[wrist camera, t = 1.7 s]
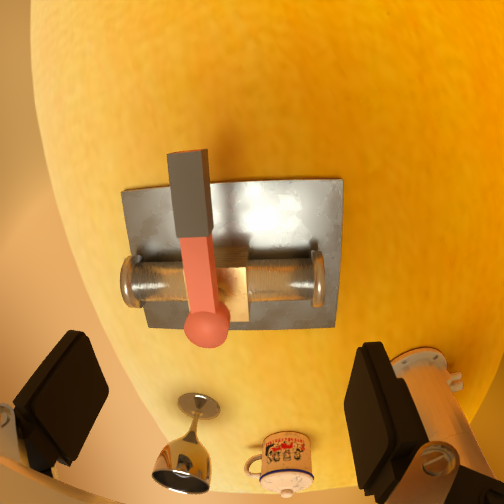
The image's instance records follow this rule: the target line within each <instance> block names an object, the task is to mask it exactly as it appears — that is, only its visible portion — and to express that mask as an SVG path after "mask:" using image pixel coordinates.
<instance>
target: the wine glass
mask: <svg viewBox="0 0 504 504" xmlns="http://www.w3.org/2000/svg"><path fill="white" fill-rule="evenodd" d="M178 407H179V408H180V410H181V411H182V412H183V413H185V414H186V415H188V416H190V417H192V418H193V421H192V424H191V426H190V429H189V431H188V432H187V433H186V434H185V435H184V436H182V437H180V438H178V439H175V440H173V441H171V442H169V443H168V444H167V445H166V446H165V447H164V448H163V450H162V451H161V453H160V455H159V457H158V458H157V461H156V463H155V466H154V469H153V473H152V478H153V479H154V480H155V481H156V482H157V483H159V484H160V485H162V486H163V487H165V488H168V489H171V490H173V491H176V492H181V493H186V494H203V493H206V492H207V491H208V490H209V488H210V482H211V474H212V469H211V459H210V455H209V453H208V451H207V450H206V448H205V447H204V446H203V445H202V443H201V442H200V441H199V439H198V437H197V422H198V419H200V420H209V419H213V418H215V417H217V416H218V415H219V413H220V407H219V405H218V403H217V402H216V401H215V400H213V399H212V398H210V397H208V396H206V395H203V394H198V393H188V394H184V395H182V396H181V397H180V398H179V399H178Z"/></svg>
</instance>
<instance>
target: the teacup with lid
mask: <svg viewBox="0 0 504 504" xmlns="http://www.w3.org/2000/svg"><path fill="white" fill-rule="evenodd" d="M259 459H262V468H261V473H251V472H249V467H250V465H251V464H252V463H253V462H254V461H256V460H259ZM244 471H245V473H246V475H248V476H249V477H251V478H260V479H259V481H260V484H261V486H262V487H263V488H264V489H266V490H269V491H272V492H277V493H281V496H282V497H286V498H287V497H291V496H292V495H293V493H294V492H297V491H301V490H304V489H306V488H308V487H309V486H310V485H311V484H312V483H313V480H314V476H313V475H312V464H311V450H310V441H309V439H308V438H307V437H306V436H305V435H303V434H300V433H296V432H280V433H276V434H273V435H270V436H269V437H267V438H266V439H265V440H264V442H263V449H262V454H259V455H255V456H252V457H251V458H249V459H248V461H247V462H246V464H245V467H244Z"/></svg>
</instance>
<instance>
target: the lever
mask: <svg viewBox="0 0 504 504" xmlns="http://www.w3.org/2000/svg"><path fill="white" fill-rule="evenodd" d="M167 162H168V172H169V182H170V191H171V200H172V208H173V216H174V224H175V231H176V238H179V240H180V247H181V254H182V261H183V267H184V274H185V280H186V286H187V292H188V298H189V304H190V312H189V314H188V317H187V319H186V322H185V324H184V331H185V334H186V336H187V338H188V339H189V340H190V341H191V342H192V343H194V344H195V345H197V346H199V347H203V348H215V347H218V346H220V345H221V344H223V343H224V342H225V340H226V338H227V334H228V329H229V324H230V320H231V314H230V311H229V309H228V307H227V306H226V305H225V304H224V303H223V302H221V301H219V294H218V285H217V276H216V267H215V258H214V249H213V239H212V230H213V229H214V222H213V211H212V200H211V188H210V176H209V163H208V150H207V149H201V150H190V151H181V152H174V153H170V154H167Z"/></svg>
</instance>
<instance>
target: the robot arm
mask: <svg viewBox="0 0 504 504" xmlns="http://www.w3.org/2000/svg"><path fill="white" fill-rule="evenodd" d="M461 378H462V373H461V371H459V372H454V373H452V374H450V373H449V372H448V371H447V362H446V359H445V357H444V356H443V354H442V353H441V352H440V351H438V350H436V349H433V348H419V349H415V350H412V351H409V352H407V353H404V354H402V355H401V356H399V357H397V358H396V359H394V360H393V361H392V362H390V360H389V358H388V356H387V353H386V351H385V349H384V346H383V344H382V343H381V342H365V343H364V344H363V346H362V347H358V348H357V352H356V356H355V360H354V365H353V369H352V373H351V377H350V381H349V385H348V389H347V392H346V396H345V400H344V411H345V416H346V421H347V426H348V431H349V436H350V442H351V447H352V453H353V458H354V464H355V470H356V476H357V482H358V487H359V489H364V492H365V496H370V495H374V496H375V502H376V503H378V504H504V483H503V482H501V481H499V480H497V478H496V477H495V475H494V474H493V472H492V470H491V468H490V467H489V465H488V463H487V461H486V459H485V457H484V455H483V453H482V451H481V449H480V447H479V445H478V443H477V441H476V438H475V436H474V434H473V432H472V430H471V428H470V426H469V424H468V422H467V420H466V417H465V415H464V413H463V411H462V409H461V408H460V406H459V404H458V402H457V400H456V398H455V396H454V394H453V392H456V391H460V390H462V389H463V381H462V380H461ZM451 381H452V382H451ZM108 394H109V388H108V385H107V383H106V381H105V378H104V376H103V373H102V371H101V368H100V366H99V363H98V361H97V358H96V356H95V353H94V350H93V348H92V345H91V342H90V340H89V338H88V337H87V336H86V335H85V333H84V332H81V331H74V330H69V331H68V332H67V333H66V334H65V335H64V336H63V337H62V339H61V340H60V341H59V342H58V344H57V345H56V346H55V347H54V348H53V350H52V351H51V352H50V353H49V355H48V356H47V357H46V359H45V360H44V361H43V362H42V364H41V365H40V366H39V367H38V369H37V370H36V371H35V372H34V374H33V375H32V376H31V378H30V379H29V380H28V382H27V383H26V384H25V386H24V387H23V388H22V390H21V391H20V392H19V394H18V395H17V396H16V398H15V399H14V401H13V403H14V405H15V408H14V409H13V408H12V407H11V406H10V405H8V404H5V403H0V504H124V503H120V502H117V501H113V500H110V499H107V498H103V497H101V496H97V495H95V494H92V493H89V492H86V491H83V490H80V489H78V488H75V487H73V486H70V485H68V484H65V483H63V482H61V481H60V480H59V477H58V474H57V471H56V467H55V463H56V461H58V462H59V463H61V464H64V465H67V466H69V467H70V466H71V463H72V461H75V460H76V459H77V457H78V455H79V453H80V451H81V449H82V447H83V444H84V442H85V440H86V438H87V436H88V434H89V432H90V430H91V428H92V426H93V424H94V422H95V420H96V418H97V416H98V414H99V412H100V410H101V408H102V406H103V404H104V402H105V400H106V399H107V397H108Z"/></svg>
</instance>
